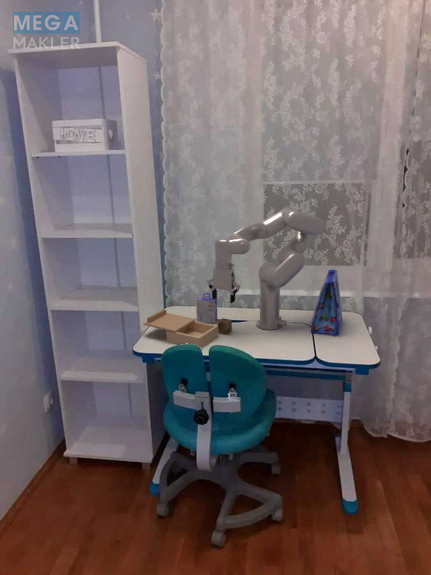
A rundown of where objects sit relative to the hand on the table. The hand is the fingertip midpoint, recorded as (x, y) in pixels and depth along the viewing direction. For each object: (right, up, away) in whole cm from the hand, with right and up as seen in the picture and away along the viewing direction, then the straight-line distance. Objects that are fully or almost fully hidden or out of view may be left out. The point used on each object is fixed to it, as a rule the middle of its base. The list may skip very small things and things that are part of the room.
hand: (223, 300), depth 218 cm
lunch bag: (+50, -13, +9) cm, 53 cm away
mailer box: (-14, -18, -2) cm, 23 cm away
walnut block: (+1, -15, +5) cm, 16 cm away
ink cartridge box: (-8, -11, +19) cm, 24 cm away
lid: (-25, -11, +3) cm, 28 cm away
